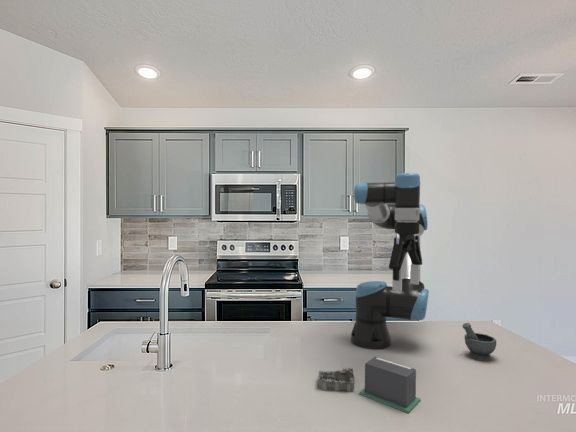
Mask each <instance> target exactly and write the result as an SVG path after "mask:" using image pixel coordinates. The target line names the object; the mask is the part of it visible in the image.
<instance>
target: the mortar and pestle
mask: <svg viewBox="0 0 576 432" xmlns="http://www.w3.org/2000/svg"><path fill="white" fill-rule="evenodd" d="M461 327H462V329H464V331H465V333H466V334H464V342H465V345H466V347H467V348H468V350H469V351H470V352H469V355H470V357H471V358H472V359H475V360H479V361H490V359H491V354H492V353H494V352H495V350H496V347H497V339H496V338H495V337H494V336H491V335H488V334H485V333H478V332H475V331H474V330H473V328H472V325H471V323H470V322H465V323H463V324H462V326H461Z"/></svg>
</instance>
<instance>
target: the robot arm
mask: <svg viewBox="0 0 576 432" xmlns="http://www.w3.org/2000/svg"><path fill="white" fill-rule="evenodd" d="M353 191H354V192H353V197H354V199H353V200H354V202H355V203H356V204H360V205H365V207H366V210H367V216H368V219H369V220H370V222H371V223H372V224H374V225H375V226H378V227H379V228H382V229H385V230H394V233H395V234H397V235H398V237H393V247H392V251H391V255H390V259H389V263H388V268H389V270H392V284H391V285H392V286H390V285H389V286H388V284H387V282H386V281H381V280H375V281H373V280H371V281H365V282H362V283H359V284H357V285H356V291H355V322H354V325H353V328H352V330H351V334H350V342H351V343H352V344H354V345H355V346H358V347H361V348H363V349H364V348H365V349H372V350H377V349H380V350H381V349H385V348H388V347H390V346H391V342H392V341H391V335H390V332H389V329H388V324H387V318H392V319H399V320H400V319H401V320H409V321H423V320H425V318H426V314H427V307H428V302H429V301H428V300H429V289H427V288H425V284H424V282H422V281H421V266H422V265H423V257H422V251H421V236H422V235H423V234H424V233H425V231H427V230H428V214H427V209H426V207H425V205H423V204H420V203H421V201H420V198H421V176H420V174H419V173H417V172H416V173H415V172H403V173H398V174H396V176H395V182H359V183H356V184H355V185H354V190H353Z"/></svg>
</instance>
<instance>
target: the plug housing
mask: <svg viewBox="0 0 576 432" xmlns="http://www.w3.org/2000/svg"><path fill="white" fill-rule="evenodd" d="M416 383H417V369H415V368H413V367H410V366H407V365H403V364H400V363H397V362H394V361H390V360H387V359H384V358H380V357H378V356H374V357H372V358H371V359H369V360H368V361H366V362H365V363H364V388H365V392H366V393H369V394H372V395H374V396H377V397H379V398H382V399H384V400H387V401H390V402H392V403H395V404H397V405H400V406H402V407H405V408H407V407H408V406H409V405H410V404H411V403H412V402H413V401H414V400H415V399H416V397H417V396H416V394H417V393H416V392H417V384H416Z"/></svg>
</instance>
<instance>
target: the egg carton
mask: <svg viewBox="0 0 576 432" xmlns="http://www.w3.org/2000/svg"><path fill="white" fill-rule="evenodd" d="M336 380H337V381H336ZM355 381H356V377H355V373H354V369H353V368H350V367H348V368H347V367H346V368H343V369H342V370H339V369H337V370H327V371H323V370H319V371H318V388H319V389H322V390H323V391H327V390H328V389H333V390H334V391H335V392H337V391H340V390H345V391H346V392H348V393H349V392H352V391H354V390H355V384H356V382H355Z"/></svg>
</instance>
